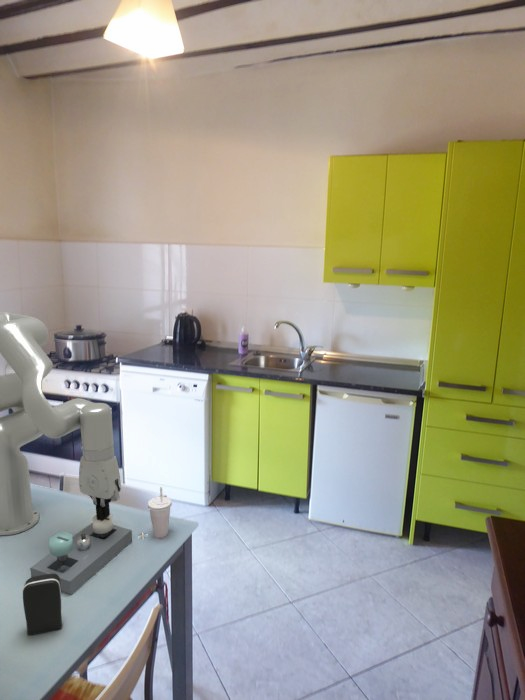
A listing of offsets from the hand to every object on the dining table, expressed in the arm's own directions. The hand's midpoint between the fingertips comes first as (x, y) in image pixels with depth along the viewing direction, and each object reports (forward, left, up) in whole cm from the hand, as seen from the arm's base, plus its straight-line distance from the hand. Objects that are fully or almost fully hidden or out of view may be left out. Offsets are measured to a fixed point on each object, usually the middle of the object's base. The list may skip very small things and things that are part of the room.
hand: (103, 517), depth 124 cm
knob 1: (0, -14, -3) cm, 14 cm away
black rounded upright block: (+8, -27, -8) cm, 29 cm away
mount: (0, -7, -8) cm, 11 cm away
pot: (0, -7, -5) cm, 8 cm away
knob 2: (0, 0, -6) cm, 6 cm away
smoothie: (+11, +10, -8) cm, 17 cm away
